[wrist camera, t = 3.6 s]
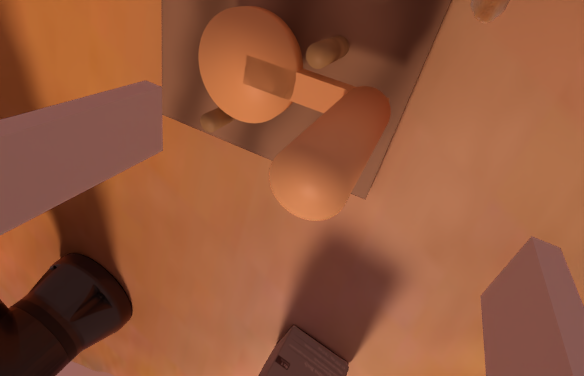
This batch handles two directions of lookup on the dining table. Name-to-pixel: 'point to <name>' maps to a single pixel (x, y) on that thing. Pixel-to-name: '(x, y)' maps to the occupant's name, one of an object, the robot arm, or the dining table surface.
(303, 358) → the skincare box
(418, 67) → the board
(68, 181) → the robot arm
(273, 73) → the tan piece
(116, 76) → the dining table surface
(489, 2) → the lion figurine
